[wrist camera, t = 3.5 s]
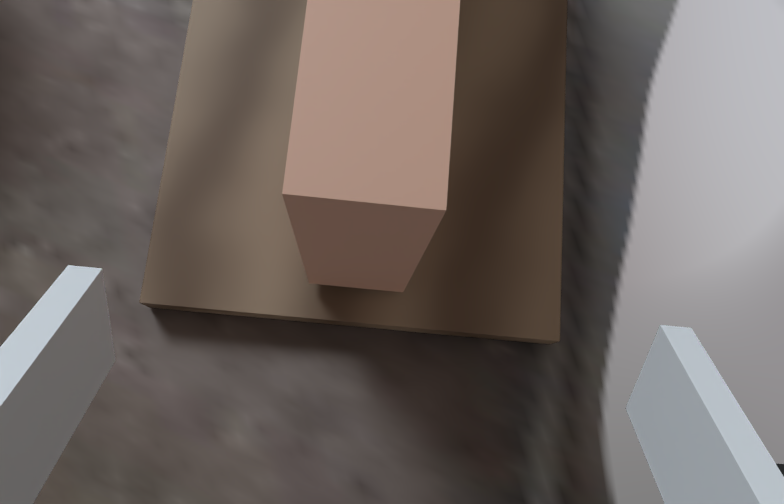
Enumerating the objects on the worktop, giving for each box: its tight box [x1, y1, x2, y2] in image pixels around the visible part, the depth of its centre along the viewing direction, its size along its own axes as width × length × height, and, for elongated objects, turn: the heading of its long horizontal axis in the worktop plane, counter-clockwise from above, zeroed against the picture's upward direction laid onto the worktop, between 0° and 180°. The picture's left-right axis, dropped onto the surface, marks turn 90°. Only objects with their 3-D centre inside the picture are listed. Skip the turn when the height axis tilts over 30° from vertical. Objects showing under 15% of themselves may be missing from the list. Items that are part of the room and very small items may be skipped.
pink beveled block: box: [282, 0, 460, 292], centre depth 22 cm, size 4×8×12 cm, turn 175°
